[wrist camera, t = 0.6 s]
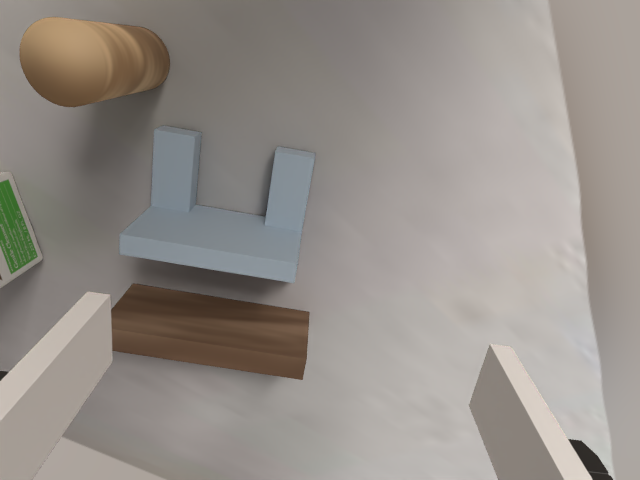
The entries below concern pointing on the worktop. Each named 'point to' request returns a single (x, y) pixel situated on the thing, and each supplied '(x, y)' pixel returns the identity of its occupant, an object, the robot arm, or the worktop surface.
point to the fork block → (219, 215)
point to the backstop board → (211, 331)
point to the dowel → (91, 60)
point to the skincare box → (15, 233)
